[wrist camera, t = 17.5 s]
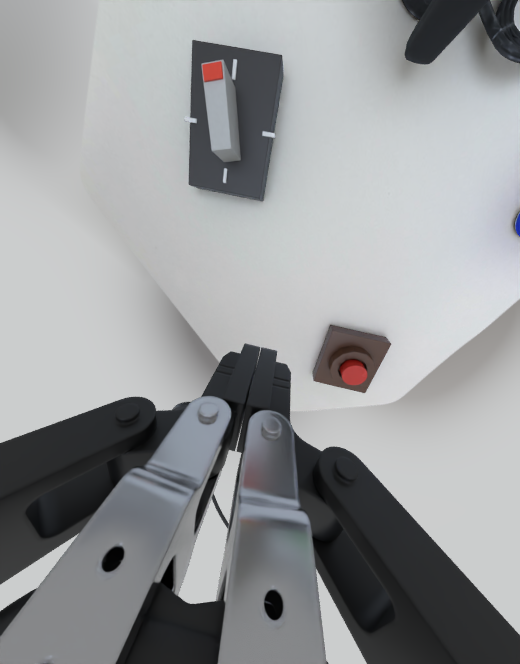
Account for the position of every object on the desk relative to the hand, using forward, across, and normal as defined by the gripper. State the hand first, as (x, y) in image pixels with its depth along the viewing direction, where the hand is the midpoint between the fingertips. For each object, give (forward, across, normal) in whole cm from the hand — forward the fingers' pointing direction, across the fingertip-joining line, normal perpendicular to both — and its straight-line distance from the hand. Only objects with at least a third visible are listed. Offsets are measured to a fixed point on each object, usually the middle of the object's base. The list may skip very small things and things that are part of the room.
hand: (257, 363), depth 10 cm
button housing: (+25, -14, +12) cm, 31 cm away
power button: (+21, -14, +12) cm, 28 cm away
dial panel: (+25, +9, -14) cm, 30 cm away
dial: (+22, +9, -14) cm, 28 cm away
